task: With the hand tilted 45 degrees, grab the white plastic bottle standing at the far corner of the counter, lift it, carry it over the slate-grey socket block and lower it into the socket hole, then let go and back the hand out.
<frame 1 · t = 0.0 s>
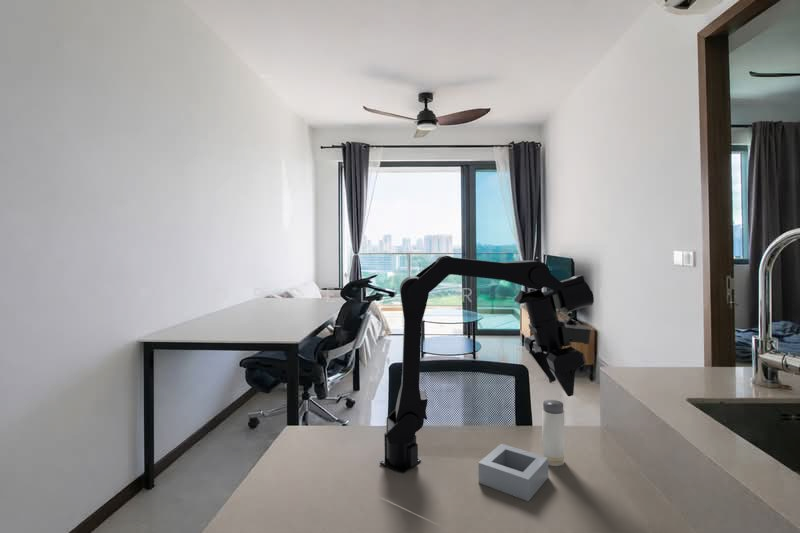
hand: (561, 388, 92), 15 cm above the countertop, tool pointing down, fingers open, 9 cm apart
white plastic bottle: (552, 460, 92), on the countertop
socket block: (513, 479, 85), on the countertop
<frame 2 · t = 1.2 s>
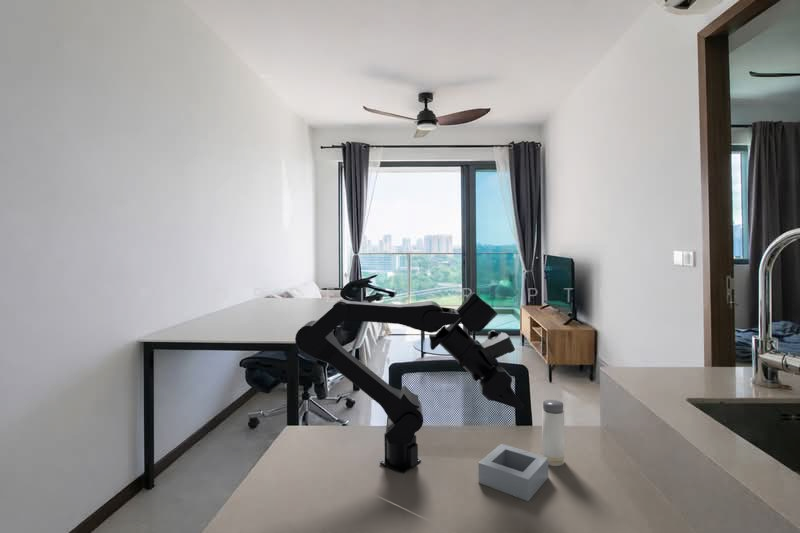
hand: (515, 399, 91), 13 cm above the countertop, tool tilted 45°, fingers open, 9 cm apart
nothing on the countertop moved.
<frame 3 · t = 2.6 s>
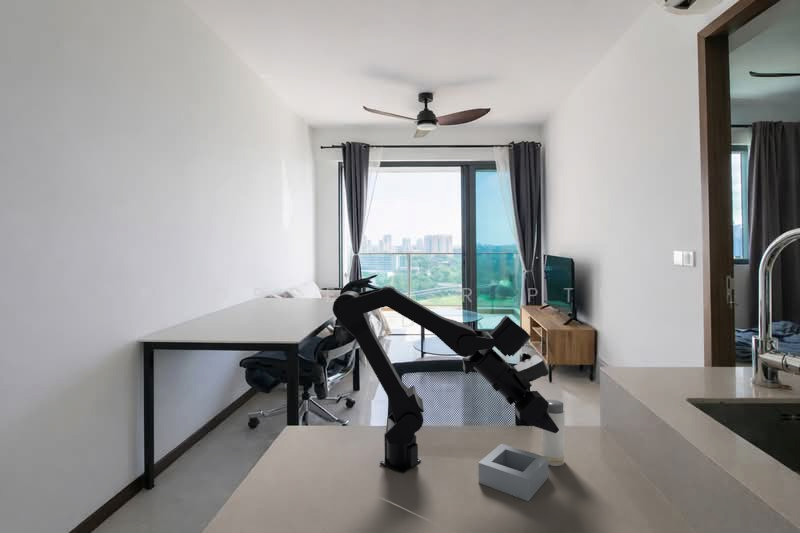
hand: (549, 422, 91), 8 cm above the countertop, tool tilted 45°, fingers open, 9 cm apart
nothing on the countertop moved.
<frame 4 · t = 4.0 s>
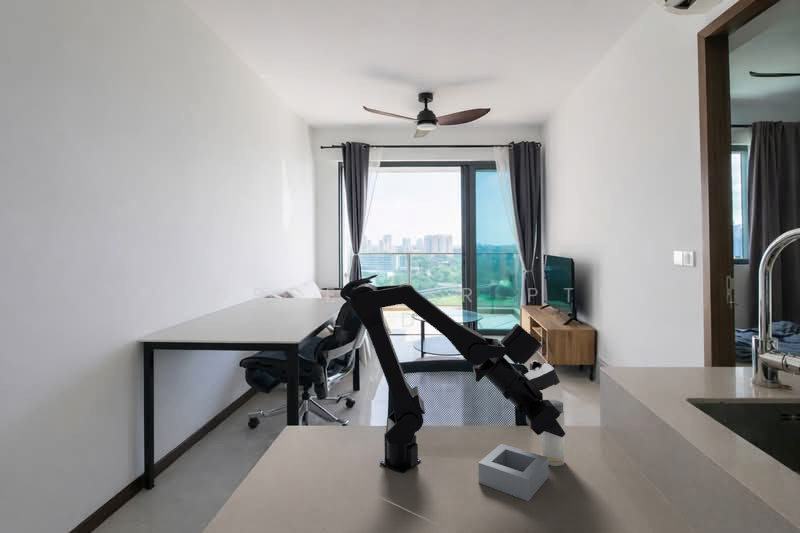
hand: (559, 430, 91), 7 cm above the countertop, tool tilted 45°, fingers closed on white plastic bottle, 4 cm apart
white plastic bottle: (552, 460, 92), on the countertop, touching gripper
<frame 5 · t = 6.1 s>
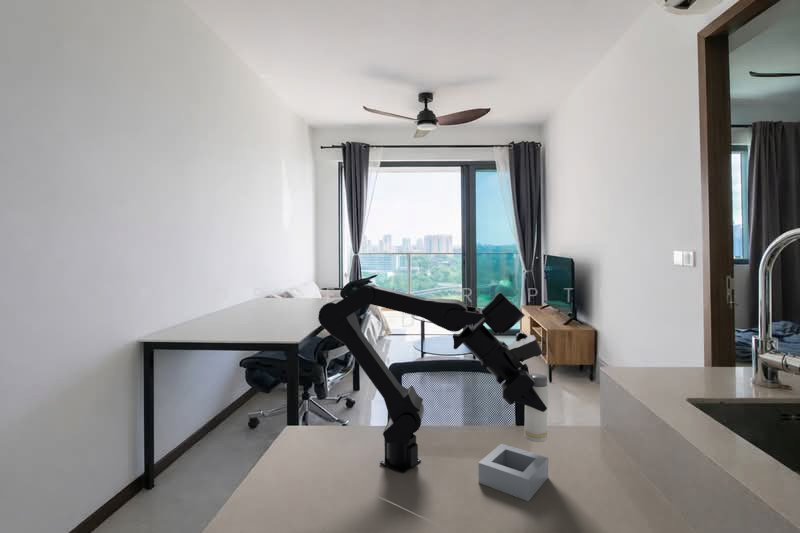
hand: (543, 405, 87), 14 cm above the countertop, tool tilted 45°, fingers closed on white plastic bottle, 4 cm apart
white plastic bottle: (535, 437, 87), point 7 cm above the countertop, touching gripper
when the fingers open (9 cm above the countertop, at t = 8.2 s): white plastic bottle drops 1 cm, resting on socket block.
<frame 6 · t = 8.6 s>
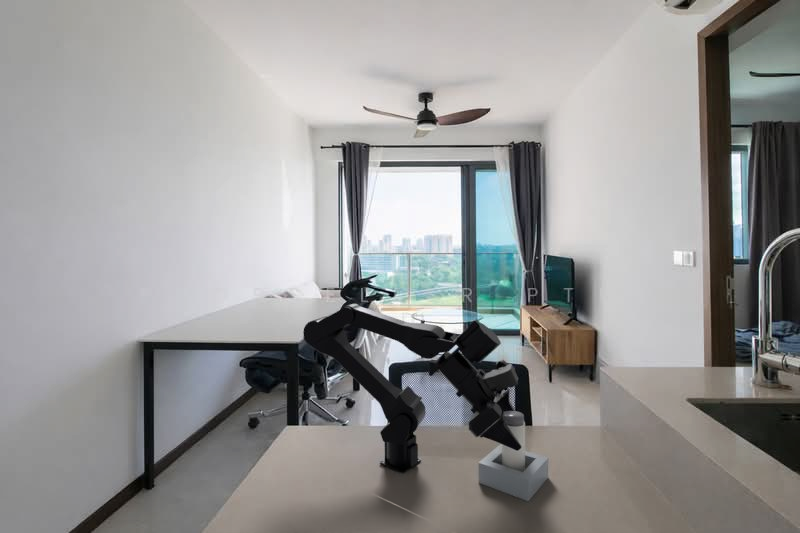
hand: (521, 438, 84), 9 cm above the countertop, tool tilted 45°, fingers open, 9 cm apart
white plastic bottle: (513, 477, 85), point 1 cm above the countertop, touching socket block
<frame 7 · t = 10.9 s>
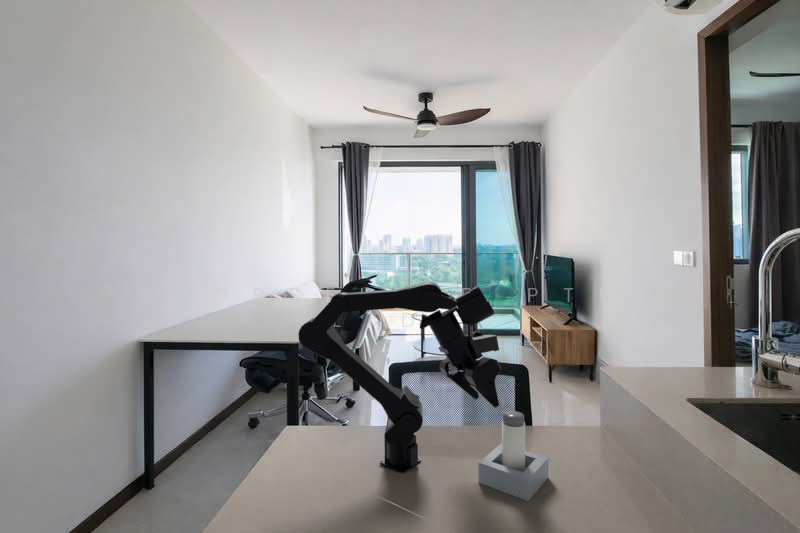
hand: (486, 402, 90), 13 cm above the countertop, tool tilted 30°, fingers open, 9 cm apart
nothing on the countertop moved.
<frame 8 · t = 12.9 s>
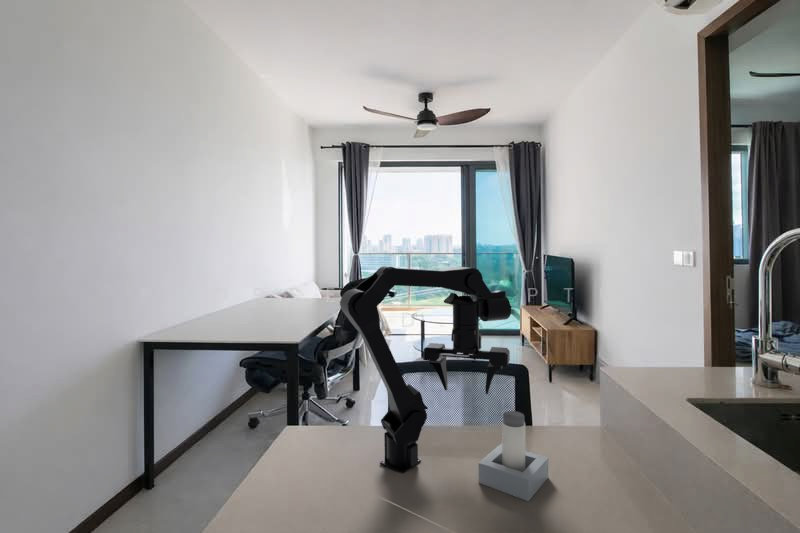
hand: (466, 391, 97), 13 cm above the countertop, tool pointing down, fingers open, 9 cm apart
nothing on the countertop moved.
at the end: white plastic bottle 0.0 cm off-centre on the socket block, point 0.5 cm above the socket block's base; white plastic bottle tilted 1°; the gripper is holding nothing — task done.
